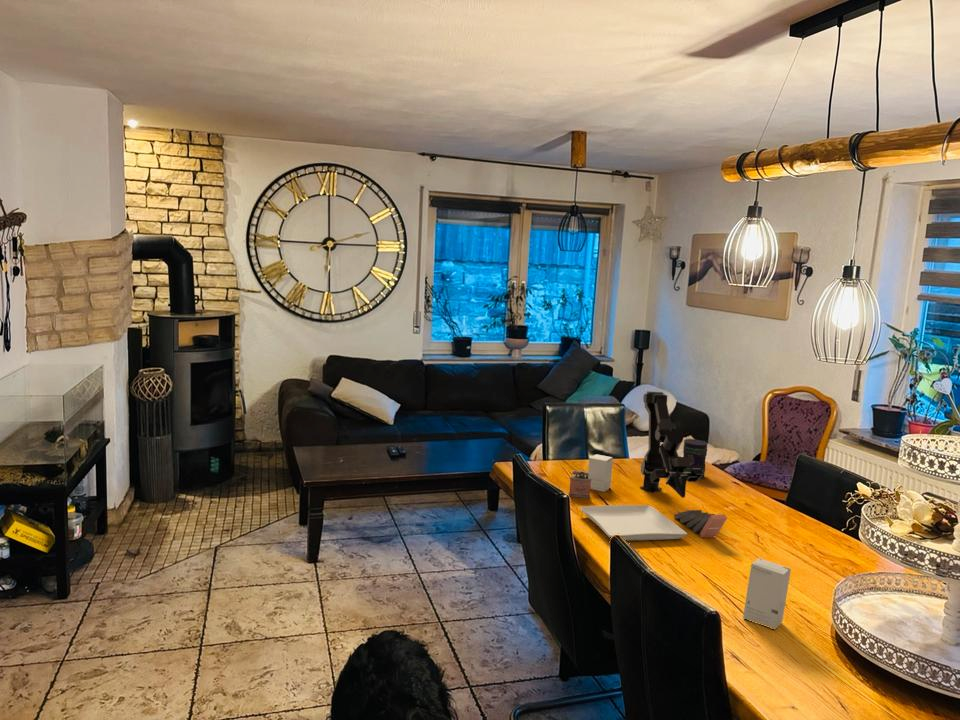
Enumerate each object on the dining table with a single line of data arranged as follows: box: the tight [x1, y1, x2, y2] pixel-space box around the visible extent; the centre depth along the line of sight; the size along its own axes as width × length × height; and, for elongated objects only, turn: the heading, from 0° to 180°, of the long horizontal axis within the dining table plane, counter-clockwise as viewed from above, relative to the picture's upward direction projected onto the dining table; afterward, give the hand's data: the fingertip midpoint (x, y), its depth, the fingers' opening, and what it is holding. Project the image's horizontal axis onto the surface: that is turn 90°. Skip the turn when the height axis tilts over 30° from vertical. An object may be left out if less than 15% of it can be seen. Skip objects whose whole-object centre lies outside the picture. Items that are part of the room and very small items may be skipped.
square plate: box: [579, 504, 688, 542], centre depth 236 cm, size 27×27×4 cm
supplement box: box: [587, 453, 614, 493], centre depth 278 cm, size 7×7×13 cm
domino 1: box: [673, 509, 703, 520], centre depth 244 cm, size 2×5×10 cm
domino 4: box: [692, 515, 711, 534], centre depth 233 cm, size 2×5×10 cm
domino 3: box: [686, 513, 716, 529], centre depth 236 cm, size 2×5×10 cm
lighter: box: [568, 470, 592, 499], centre depth 266 cm, size 8×3×10 cm, turn 84°
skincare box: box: [742, 557, 792, 630], centre depth 175 cm, size 8×6×15 cm
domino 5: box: [699, 513, 728, 538], centre depth 229 cm, size 2×5×10 cm
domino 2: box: [679, 512, 709, 524], centre depth 240 cm, size 2×5×10 cm
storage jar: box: [682, 438, 708, 480], centre depth 303 cm, size 10×10×15 cm
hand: (683, 497), depth 247 cm, fingers closed
